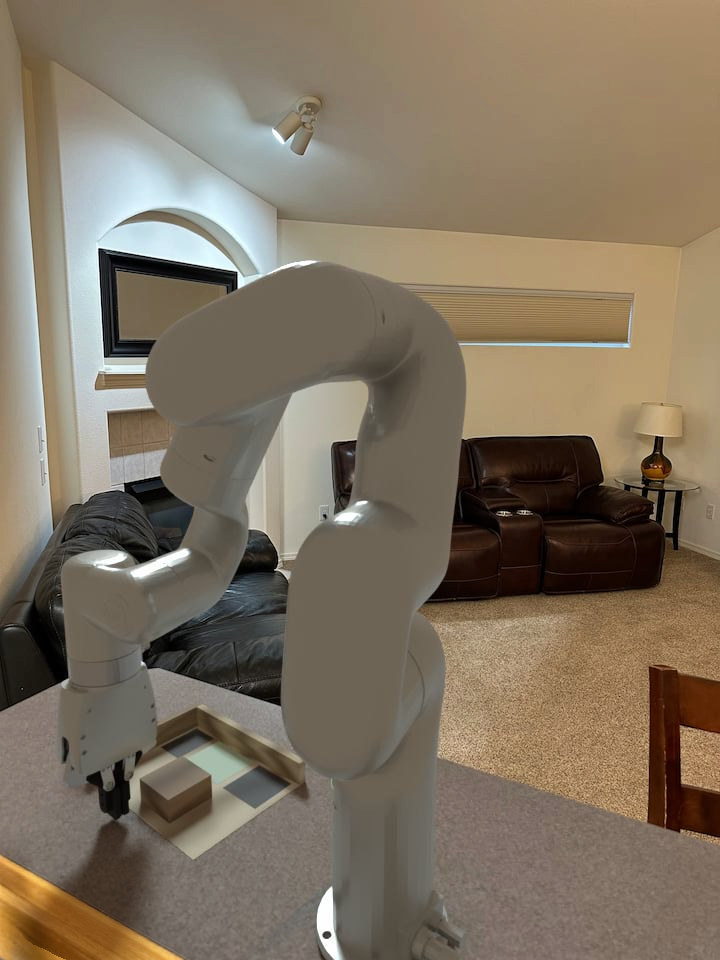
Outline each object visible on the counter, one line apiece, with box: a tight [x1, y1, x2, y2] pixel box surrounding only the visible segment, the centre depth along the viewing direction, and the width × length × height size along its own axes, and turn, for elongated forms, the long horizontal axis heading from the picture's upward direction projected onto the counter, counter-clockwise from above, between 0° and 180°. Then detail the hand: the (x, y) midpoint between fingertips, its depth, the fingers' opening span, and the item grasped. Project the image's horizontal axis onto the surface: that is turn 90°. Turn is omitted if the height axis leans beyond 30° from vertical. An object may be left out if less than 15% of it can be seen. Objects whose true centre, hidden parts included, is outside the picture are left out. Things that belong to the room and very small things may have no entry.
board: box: [111, 701, 306, 861], centre depth 81 cm, size 22×17×4 cm
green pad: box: [187, 741, 254, 784], centre depth 85 cm, size 8×6×1 cm
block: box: [140, 756, 212, 824], centre depth 77 cm, size 6×6×3 cm
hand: (115, 811), depth 74 cm, fingers closed
